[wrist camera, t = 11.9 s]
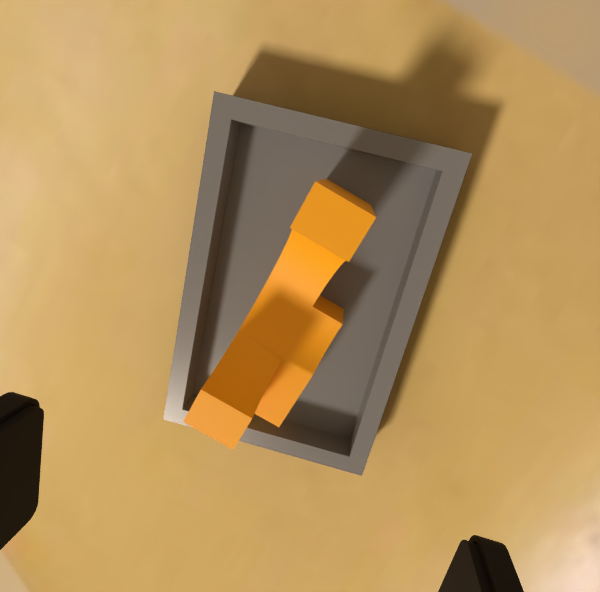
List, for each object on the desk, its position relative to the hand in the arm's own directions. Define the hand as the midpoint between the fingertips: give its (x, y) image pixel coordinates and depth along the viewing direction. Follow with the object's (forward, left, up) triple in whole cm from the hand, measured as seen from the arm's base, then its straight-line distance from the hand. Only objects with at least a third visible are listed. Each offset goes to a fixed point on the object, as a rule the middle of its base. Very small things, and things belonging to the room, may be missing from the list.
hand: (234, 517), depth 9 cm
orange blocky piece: (0, 0, -15) cm, 15 cm away
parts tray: (+1, 0, -16) cm, 16 cm away
